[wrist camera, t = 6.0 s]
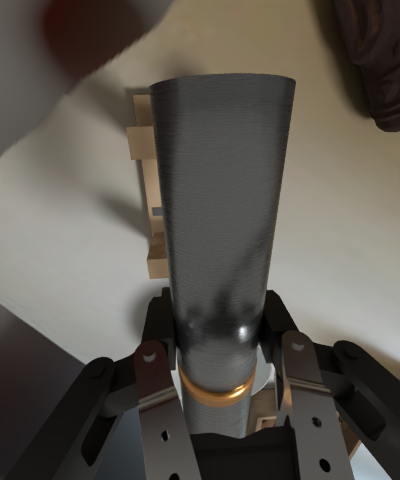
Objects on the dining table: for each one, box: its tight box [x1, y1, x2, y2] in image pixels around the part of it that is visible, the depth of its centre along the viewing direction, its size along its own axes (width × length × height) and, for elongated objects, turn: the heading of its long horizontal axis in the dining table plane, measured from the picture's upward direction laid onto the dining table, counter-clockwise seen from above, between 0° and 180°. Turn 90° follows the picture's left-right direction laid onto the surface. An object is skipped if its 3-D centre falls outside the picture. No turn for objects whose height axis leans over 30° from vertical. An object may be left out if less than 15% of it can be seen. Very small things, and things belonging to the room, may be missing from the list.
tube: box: [149, 73, 296, 438], centre depth 11 cm, size 20×4×4 cm, turn 1°
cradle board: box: [126, 95, 169, 279], centre depth 24 cm, size 12×20×8 cm, turn 1°
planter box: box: [245, 389, 362, 460], centre depth 51 cm, size 26×26×5 cm
